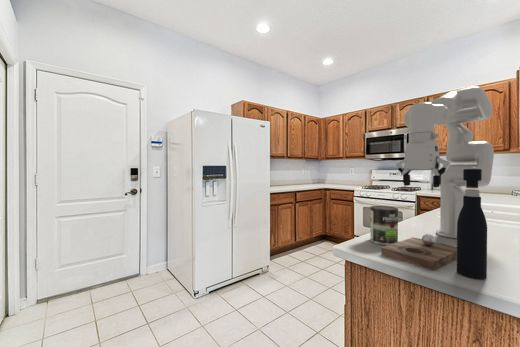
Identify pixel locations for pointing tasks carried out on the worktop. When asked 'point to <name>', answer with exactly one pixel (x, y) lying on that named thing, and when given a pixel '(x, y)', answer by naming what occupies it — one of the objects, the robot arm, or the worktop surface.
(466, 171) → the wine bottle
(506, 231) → the worktop surface
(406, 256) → the board
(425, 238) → the ball
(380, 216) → the coffee can
